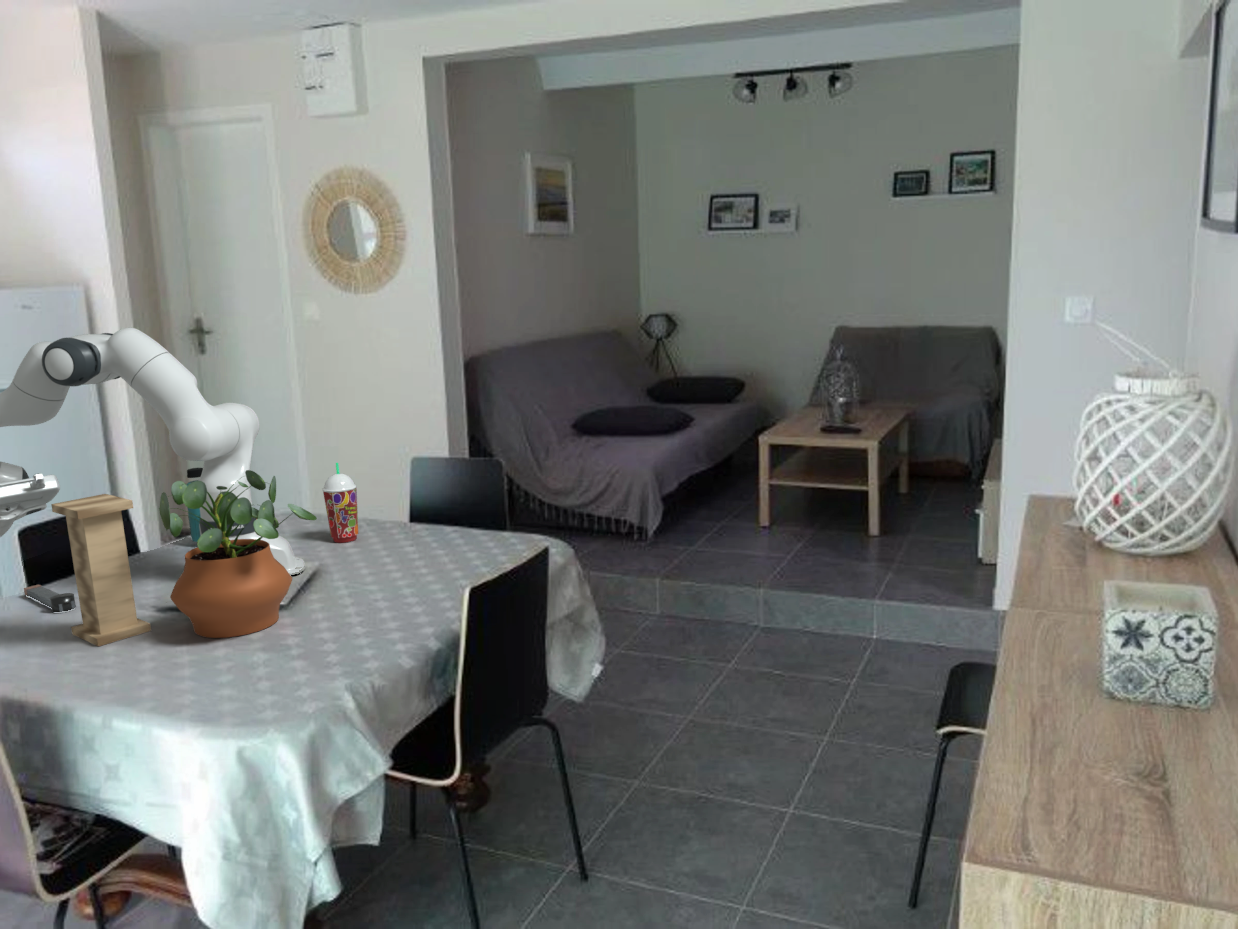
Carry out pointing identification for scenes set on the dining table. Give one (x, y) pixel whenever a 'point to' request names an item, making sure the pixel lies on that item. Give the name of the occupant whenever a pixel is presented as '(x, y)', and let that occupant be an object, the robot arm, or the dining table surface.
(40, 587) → the grey rod with knob
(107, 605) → the stand
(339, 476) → the smoothie
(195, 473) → the beverage bottle
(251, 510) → the potted plant
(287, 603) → the dining table surface
